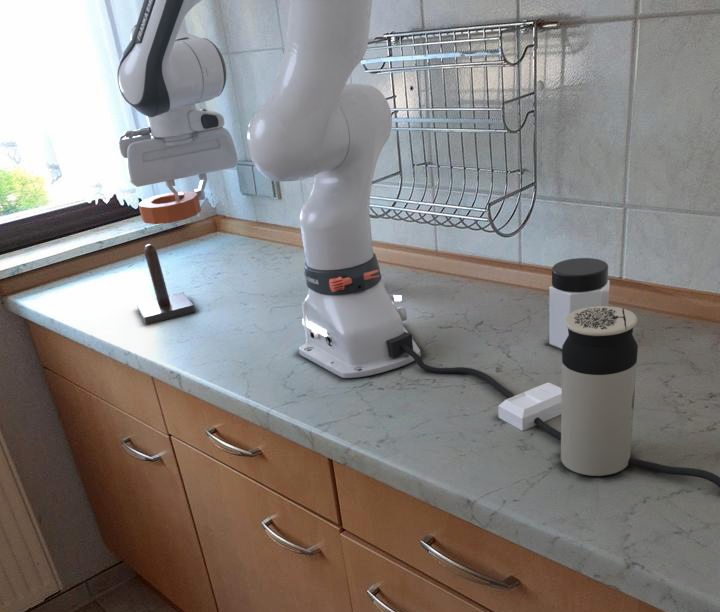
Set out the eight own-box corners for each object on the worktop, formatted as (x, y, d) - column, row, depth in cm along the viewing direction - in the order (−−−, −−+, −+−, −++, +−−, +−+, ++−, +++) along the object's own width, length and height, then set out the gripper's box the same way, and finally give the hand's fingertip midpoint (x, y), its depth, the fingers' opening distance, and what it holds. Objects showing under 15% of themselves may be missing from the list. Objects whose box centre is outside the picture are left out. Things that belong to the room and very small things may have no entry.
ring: (206, 214, 146) (202, 198, 145) (148, 227, 143) (144, 210, 142) (193, 203, 155) (189, 188, 153) (138, 215, 152) (134, 200, 150)
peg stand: (195, 312, 159) (178, 244, 151) (146, 324, 156) (126, 256, 149) (185, 298, 167) (168, 233, 159) (138, 310, 164) (119, 244, 157)
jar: (600, 328, 127) (603, 254, 121) (614, 348, 120) (617, 271, 114) (544, 334, 128) (544, 261, 121) (554, 355, 121) (554, 278, 114)
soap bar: (575, 408, 106) (575, 390, 105) (522, 430, 103) (522, 412, 101) (550, 396, 110) (550, 379, 108) (498, 417, 106) (498, 400, 105)
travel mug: (555, 475, 93) (557, 331, 83) (566, 441, 99) (568, 304, 90) (626, 481, 90) (636, 333, 81) (632, 446, 96) (642, 305, 87)
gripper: (118, 135, 137) (139, 216, 144) (231, 114, 142) (246, 193, 149) (113, 131, 142) (134, 209, 149) (223, 111, 147) (238, 188, 154)
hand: (191, 201), depth 149 cm, fingers closed on ring, 2 cm apart
